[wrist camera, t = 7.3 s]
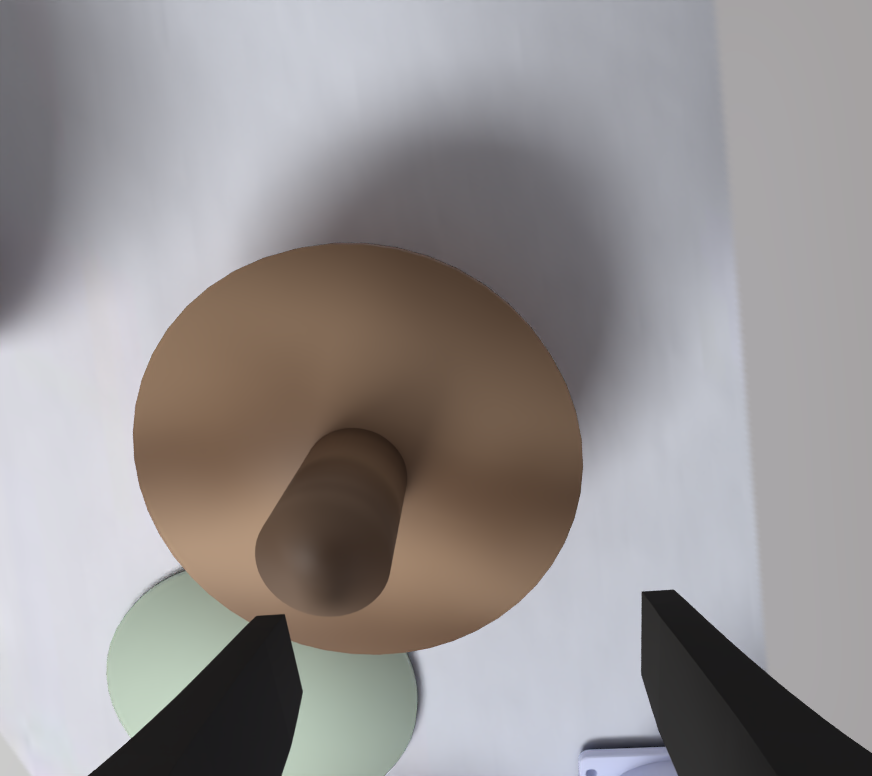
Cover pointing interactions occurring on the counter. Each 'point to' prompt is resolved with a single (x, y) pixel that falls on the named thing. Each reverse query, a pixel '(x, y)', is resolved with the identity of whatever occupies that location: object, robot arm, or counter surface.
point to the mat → (318, 670)
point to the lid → (358, 448)
